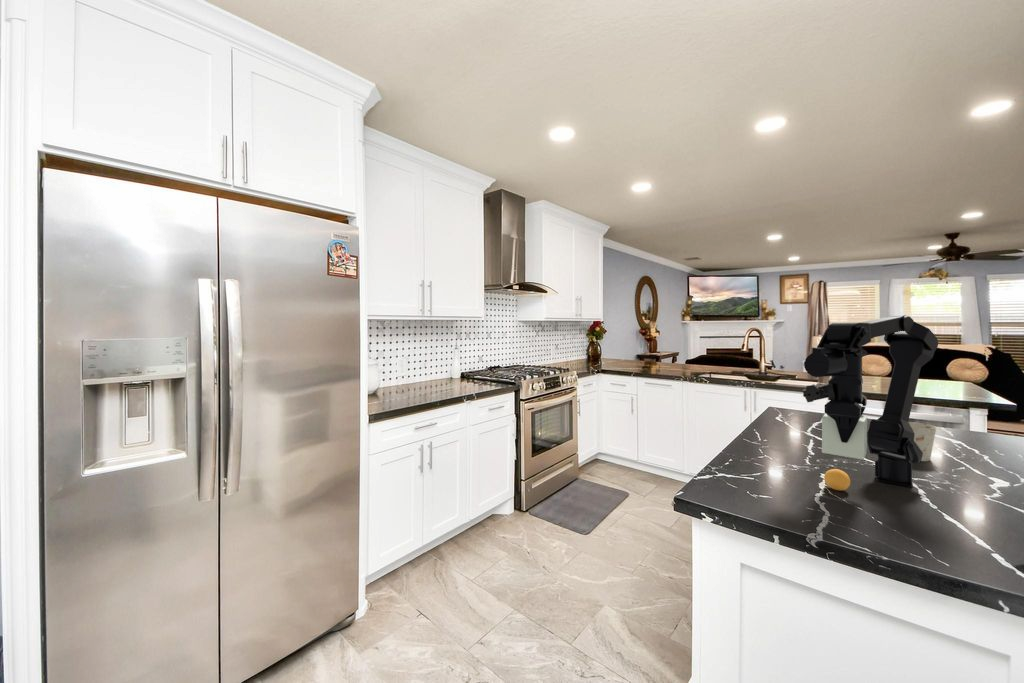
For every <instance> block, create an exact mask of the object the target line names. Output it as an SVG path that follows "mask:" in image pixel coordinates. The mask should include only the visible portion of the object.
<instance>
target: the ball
mask: <svg viewBox="0 0 1024 683" xmlns="http://www.w3.org/2000/svg"><path fill="white" fill-rule="evenodd" d="M823 477H824V482H825V484H826V485H827V486H828V487H829V488H830V489H832V490H835V491H844V490H847V489H849V487H850V485H851V479H850V476H849V475H848V474H847V473H846V472H845V471H843V470H841V469H838V468H832V469H829V470H827V471H826V472H825V473H824V476H823Z"/></svg>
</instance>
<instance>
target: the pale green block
mask: <svg viewBox="0 0 1024 683" xmlns="http://www.w3.org/2000/svg"><path fill="white" fill-rule="evenodd" d="M867 432H868V415H863V414H862V415H861V417H860V419H859V421H858V423H857V425H856V427H855V429H854V431H853V433H852V435H851V437H850V439H849V441H848V442H847V443H844V442H841V439H840V435H839V432H838V428H837V425H836V422H835V420H834V419H832V418H831V417H830V416H828V415H827V414H826V413H825V412H824V414H823V415H822V417H821V453H823V454H826V455H827V454H828V455H832V456H834V455H835V456H838V457H839V456H840V457H847V458H851V459H858V460H865V458H866V455H867V452H868V443H867Z"/></svg>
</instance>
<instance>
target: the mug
mask: <svg viewBox="0 0 1024 683" xmlns="http://www.w3.org/2000/svg"><path fill="white" fill-rule="evenodd" d="M908 422H909V424H910V426H911V428H912V430H913V432H914V434H915V436H914V442H915V443H916V444H917V446H918V447H919V448H920V450H921V451H922V452H923V455H922V459H921V461H920V462H929V461H931V457H932V451H933V446H934V442H935V437H936V436H935V435H936V432H937V431H936V430H937V427H936V426H935V425H933V424H929V423H923V422H914V421H908Z"/></svg>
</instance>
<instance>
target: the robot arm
mask: <svg viewBox="0 0 1024 683" xmlns="http://www.w3.org/2000/svg"><path fill="white" fill-rule="evenodd" d="M883 336H884V337H883ZM878 337H883V340H884V342H885V343H886V344H887V345H888V346H889V350H888V352H889V354H890V356H891V358H892V360H893V361H894V364H893V370H892V374H891V379H890V382H889V387H888V390H887V394H886V399H885V403H884V408H883V411H882V415H880V417H878V418H877V419H874V418H873V419H871V420H870V422H869V426H868V429H867V448H868V450H869V454H872V455H873V454H874V455H876V456H877V458H875V459H874V460H875V461H874V476H875V477H877V478H876V481H877V482H881V483H888V484H894V485H899V486H904V487H910V488H913V487H914V486H913V485H914V482H913V480H914V479H913V463H914V464H920V462H922V461H921V459H922V455H923V452H922V451H921V450H920V448H919V447H918V446H917V444H916V443H915V442H914V436H915V434H914V432H913V430H912V428H911V426H910V424H909V422H910V421H909V420H910V416H911V411H912V408H913V404H914V403H913V402H914V398H915V394H916V390H917V386H918V381H919V377H920V373H921V369H922V367H924V366H925V365H926V364H927V363H928V362H930V361H931V360H932V359H933V358H934V355H935V352H936V350H937V349H938V348H939V340H938V337H937V336H936V335H935V334H934V333H933V331H932V330H931V329H930V328H928V327H927V326H925V325H923V324H920V323H918V322H916V321H915V320H914V319H913V318H912V317H911V316H907V315H906V314H905V315H904V314H903V315H887V316H883V317H881V318H880V317H879V318H876V319H875V318H874V319H871V320H867V321H862V322H860V321H859V322H832V323H830V324H828V326H827V328H826V330H825V331H824V332H823V335H822V337H821V339H820V341H819V343H818V345H817V346H816V347H813V348H812V353H810V354H808V355H807V356H806V358H805V360H804V361H803V366H804V369H805V371H806V372H807V374H808V375H809V376H811V377H814V378H822V377H823V378H824V377H825V378H826V377H830V378H829V379H828V382H827V383H825V384H820V385H816V384H812V385H806V387H805V388H803V389H802V390H801V391H802V393H803V394H802V396H803V397H804V398H805V400H806V402H807V403H812V402H814V401H818V400H822V399H827V400H828V402H826V403H825V405H824V414H825V413H826V414H827V415H828V416H830V417H831V418H832V419H834V420H835V422H836V425H837V428H838V432H839V435H840V439H841V442H844V443H847V442H848V441H849V439H850V437H851V435H852V433H853V431H854V429H855V427H856V425H857V423H858V421H859V419H860V417H861V415H863V414H864V412H865V409H866V408H867V403H868V400H867V399H868V398H867V396H865V394H864V393H863V384H864V378H863V356H868V352H867V350H866V349H863V346H865V345H867V344H870V343H871V342H872V339H873V338H878Z"/></svg>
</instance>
